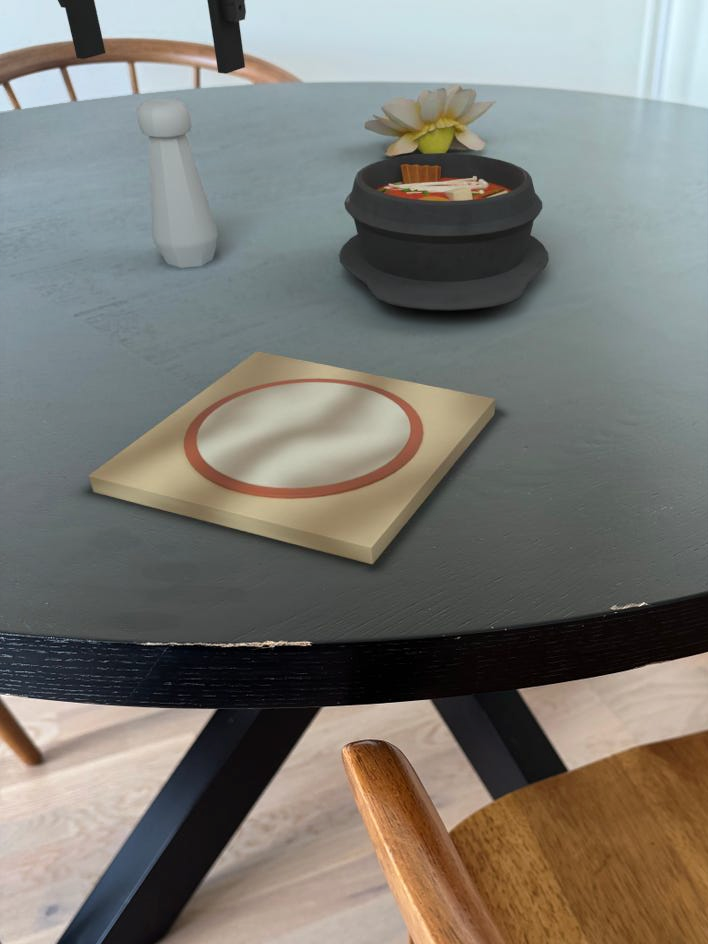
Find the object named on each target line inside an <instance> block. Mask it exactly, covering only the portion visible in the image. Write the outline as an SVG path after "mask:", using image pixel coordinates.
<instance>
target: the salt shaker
mask: <svg viewBox="0 0 708 944" xmlns="http://www.w3.org/2000/svg"><path fill="white" fill-rule="evenodd" d="M136 112H137V123H138V126H139V130H140V132H141V134H143V135H145V136H148V153H149V157H148V158H149V180H150V181H149V182H150V183H149V185H150V213H151V214H150V215H151V237H152V240H153V243H154V245H155V247H156V249H157V250H158V252H159V253H160V254H161V256H162V258H163V259H164V261H165V262H166V264H167V265H171V266H173V267H176V268H180V269H186V268H187V269H188V268H198V267H203V266H205V265H206V264H208V263H210V262H211V261H213V260H214V257H215V253H216V248H217V243H218V238H219V237H218V235H219V234H218V229H217V226H216V223H215V220H214V216H213V213H212V211H211V208H210V204H209V202H208V199H207V195H206V191H205V189H204V186H203V182H202V180H201V178H200V174H199V171H198V167H197V165H196V162H195V159H194V156H193V155H194V154H193V152H192V150H191V146H190V143H189V139H188V138H187V137H188V136H187V135H186V134H188V133H189V132H191V131H192V119H191V115H190V112H189V109H188V107H187V105H186V104H185V103H184V102H182V101H180V100H178V99H172V98H154V99H149V100H146V101H144V102H142V103H140V104H139V106H138V107H137V108H136Z"/></svg>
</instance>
